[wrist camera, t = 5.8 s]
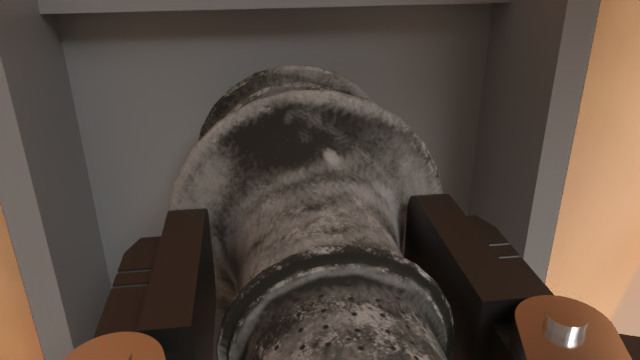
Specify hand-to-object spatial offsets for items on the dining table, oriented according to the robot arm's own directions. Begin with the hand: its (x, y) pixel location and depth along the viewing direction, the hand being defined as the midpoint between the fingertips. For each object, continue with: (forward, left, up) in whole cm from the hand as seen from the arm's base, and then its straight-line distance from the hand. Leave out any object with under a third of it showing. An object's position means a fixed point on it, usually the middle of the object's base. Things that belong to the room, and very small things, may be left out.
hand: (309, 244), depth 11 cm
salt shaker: (0, 0, -4) cm, 4 cm away
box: (+1, +1, -7) cm, 7 cm away
